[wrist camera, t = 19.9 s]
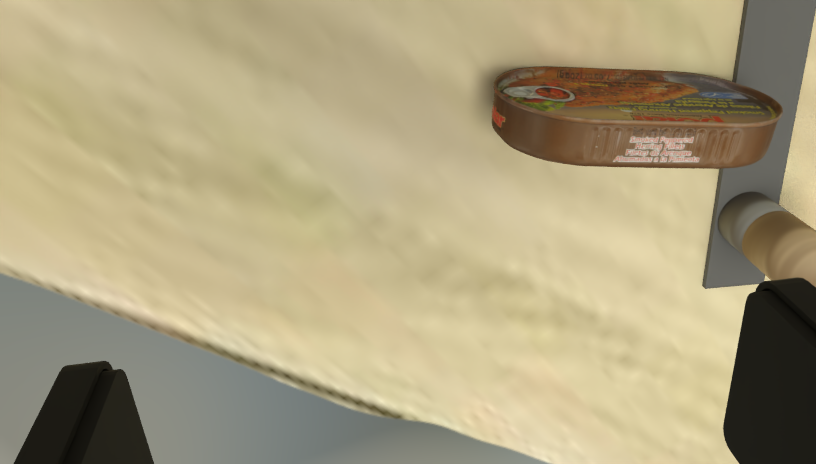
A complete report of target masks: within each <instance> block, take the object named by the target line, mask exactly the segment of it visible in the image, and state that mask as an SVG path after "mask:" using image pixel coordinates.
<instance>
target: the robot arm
mask: <svg viewBox="0 0 816 464" xmlns="http://www.w3.org/2000/svg"><path fill="white" fill-rule="evenodd" d="M723 430H724V437H725V441H726V443H727V446H728V448H729V449H730V451H731V452H732V454H733V455H734V457H735V458H736V460H737V461H738V462H739V464H816V287H815V286H813V285H812V284H811V283H810V282H809V281H807V280H805V279H804V278H798V277H797V278H788V279H780V280H772V281H764V282H762V283H760V284H759V285H758V287H757V289H756V292H753V293H750V294H749V296H748V297H747V300H746V304H745V310H744V315H743V321H742V326H741V332H740V337H739V342H738V348H737V353H736V359H735V364H734V370H733V375H732V381H731V386H730V392H729V397H728V403H727V408H726V414H725V419H724V426H723ZM14 464H154V462H153V459H152V456H151V453H150V449H149V446H148V443H147V440H146V437H145V434H144V430H143V427H142V424H141V421H140V417H139V414H138V411H137V408H136V405H135V401H134V398H133V395H132V392H131V389H130V385H129V382H128V379H127V376H126V374H125V372H124V371H123V370H121V369H118V370H113V369H112V367H111V365H110V364H109V362H106V361H100V362H92V363H84V364H76V365H67V366H65V367H63V368H62V370H61V371H60V372H59V374H58V376H57V378H56V380H55V382H54V385H53V386H52V389H51V390H50V392H49V394H48V396H47V398H46V400H45V402H44V405H43V406H42V408H41V410H40V412H39V415H38V416H37V418H36V420H35V422H34V424H33V426H32V428H31V430H30V432H29V434H28V436H27V438H26V441H25V442H24V444H23V446H22V448H21V450H20V452H19V454H18V456H17V458H16V460H15V462H14Z"/></svg>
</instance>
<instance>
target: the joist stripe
mask: <svg viewBox="0 0 816 464" xmlns="http://www.w3.org/2000/svg"><path fill="white" fill-rule="evenodd" d="M815 10H816V0H745V2H744V9H743V16H742V22H741V29H740V36H739V43H738V49H737V56H736V63H735V70H734V76H733V82H735V83H737V84H741V85H744V86H747V87H750V88H753V89H755V90H758V91H760V92H762V93H764V94H766V95H768V96H770V97H772V98H773V99H775V100H776V101H777V102H778V103H779V104H780V105H781V106H782V108H783V114H782V116H781V118H780V119H779V120H778V122H777V125H776V128H775V131H774V134H773V137H772V140H771V143H770V146H769V148H768V150H767V152H766V154H765V156H764V157H763V158H762V159H761V160H759V161H757V162H756V163H754V164H751V165H748V166H744V167H737V168H723V169H720V171H719V178H718V184H717V191H716V198H715V205H714V211H713V218H712V225H711V232H710V238H709V245H708V252H707V259H706V265H705V272H704V279H703V287H704V288H705V289H707V288H718V287H729V286H740V285H751V284H760V283H762V282H764V278H765V274H764V273H763V272H761V271H760V270H759V269H758V268H757V267H756V266H755V265H754V264H752V263H751V262H750V261H749V260H748V259H747V258H746V257H745V256H743V255H742V254H741V253H740V252H739V251H738V250H737V249H735V248H734V247H733V246H732V245H731V244H730V243H729V242H728V241H726V240H725V239H724V238H723V237H722V236H721V234H720V232H719V230H718V217H719V214H720V212H721V210H722V209H723V207H724V206H725V205H726V203H727V202H728V201H730V200H731V199H732V198H734V197H735V196H737V195H739V194H741V193H745V192H759V193H762V194H764V195H765V196H767V197H768V198H770V199H771V200H773V201H774V202H775V203H777V204H778V205H779V199H780V194H781V189H782V184H783V178H784V173H785V168H786V163H787V157H788V152H789V147H790V142H791V136H792V131H793V126H794V121H795V115H796V110H797V105H798V100H799V94H800V89H801V84H802V79H803V73H804V68H805V63H806V58H807V52H808V47H809V42H810V37H811V31H812V26H813V21H814V16H815Z"/></svg>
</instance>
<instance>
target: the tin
mask: <svg viewBox="0 0 816 464" xmlns="http://www.w3.org/2000/svg"><path fill="white" fill-rule="evenodd" d="M494 90H495V95H494V103H493V109H492V126H493V128H494V130H495V131H496V132H497V134H498V135H499V136H500V137H501V138H502V139H503V140H504V141H505V142H506V143H507V144H508V145H509V146H511V147H512V148H514V149H516V150H518V151H520V152H523V153H525V154H528V155H530V156H533V157H536V158H539V159H543V160H547V161H552V162H557V163H563V164H571V165H579V166H607V167H645V168H714V169H723V168H737V167H744V166H748V165H751V164H754V163H756V162H757V161H759V160H761V159H762V158H763V157H764V156H765V154H766V152H767V150H768V148H769V146H770V143H771V140H772V137H773V134H774V131H775V128H776V125H777V122H778V120H779V119H780V118H781V116H782V114H783V108H782V106H781V105H780V104H779V103H778V102H777V101H776V100H775V99H773V98H772V97H770V96H768V95H766V94H764V93H762V92H760V91H758V90H755V89H753V88H750V87H747V86H744V85H741V84H737V83H735V82H731V81H727V80H724V79H720V78H716V77H711V76H706V75H700V74H694V73H685V72H673V71H651V70H621V69H594V68H569V67H531V68H522V69H516V70H512V71H508V72H506V73H503V74H502V75H500V76H499V77H497V78H496V80H495V82H494Z"/></svg>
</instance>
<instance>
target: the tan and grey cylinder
mask: <svg viewBox="0 0 816 464" xmlns="http://www.w3.org/2000/svg"><path fill="white" fill-rule="evenodd" d="M718 230H719V232H720V234H721V236H722V237H723V238H724V239H725V240H726V241H728V242H729V243H730V244H731V245H732V246H733V247H734V248H735V249H737V250H738V251H739V252H740V253H741V254H742V255H743V256H745V257H746V258H747V259H748V260H749V261H750V262H751V263H752V264H754V265H755V266H756V267H757V268H758V269H759V270H760V271H761V272H763V273H764V274H765V275H766V276H767V277H768V278H769V279H771V280H780V279H788V278H797V277H798V278H804V279H805V280H807V281H809V282H810V283H811V284H812V285H813V286H815V287H816V231H815V230H814V229H813V228H811V227H810V226H808V225H807V224H805V223H804V222H803V221H801V220H800V219H798V218H797V217H795V216H794V215H793V214H791V213H790V212H788V211H787V210H785V209H784V208H783V207H781V206H780V205H778V204H777V203H775V202H774V201H773V200H771V199H770V198H768V197H767V196H765V195H764V194H762V193H759V192H745V193H741V194H739V195H737V196H735V197H734V198H732V199H731V200H730V201H728V202H727V203H726V205H725V206H724V207H723V209H722V210H721V212H720V214H719V217H718Z"/></svg>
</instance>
